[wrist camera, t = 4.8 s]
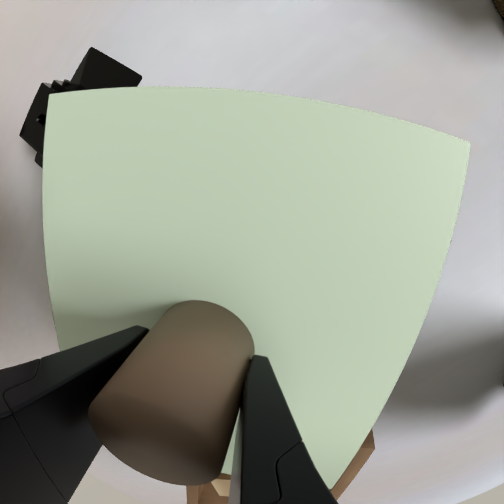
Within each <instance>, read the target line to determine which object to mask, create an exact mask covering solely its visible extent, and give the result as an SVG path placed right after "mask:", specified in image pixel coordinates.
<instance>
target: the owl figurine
mask: <svg viewBox="0 0 504 504" xmlns="http://www.w3.org/2000/svg"><path fill="white" fill-rule="evenodd" d="M493 3H494V5H495V8H496V9H497V11H498V12H499V13H500V15H501V17H502V18H504V17H503V16H504V0H493Z"/></svg>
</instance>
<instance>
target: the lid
mask: <svg viewBox="0 0 504 504" xmlns="http://www.w3.org/2000/svg"><path fill="white" fill-rule="evenodd" d="M470 146H471V143H470V142H468V141H465V140H462V139H460V138H457V137H454V136H451V135H449V134H446V133H443V132H440V131H437V130H434V129H431V128H428V127H424V126H421V125H418V124H415V123H411V122H408V121H404V120H401V119H397V118H394V117H390V116H386V115H382V114H378V113H374V112H370V111H366V110H362V109H357V108H353V107H348V106H344V105H339V104H334V103H329V102H323V101H318V100H312V99H306V98H300V97H293V96H287V95H279V94H272V93H263V92H254V91H244V90H233V89H220V88H202V87H121V88H104V89H91V90H81V91H71V92H63V93H55V94H49V100H48V108H47V116H46V126H45V137H44V152H43V178H42V206H43V232H44V247H45V259H46V269H47V277H48V285H49V293H50V299H51V306H52V312H53V318H54V323H55V328H56V333H57V338H58V343H59V348H60V351H63V350H66V349H69V348H72V347H75V346H78V345H81V344H84V343H87V342H90V341H93V340H95V339H98V338H101V337H104V336H107V335H110V334H113V333H115V332H118V331H121V330H124V329H127V328H129V327H132V326H135V325H139V326H142V327H146V328H148V329H149V330H150V331H149V332H148V334H147V335H146V336H145V337H144V338H143V340H142V341H141V342H140V343H139V344H138V346H137V347H136V348H135V349H134V351H133V352H132V353H131V354H130V355H129V357H128V358H127V359H126V360H125V362H124V363H123V364H122V365H121V366H120V368H119V369H118V370H117V371H116V373H115V374H114V375H113V376H112V378H111V379H110V380H109V381H108V383H107V384H106V385H105V386H104V388H103V389H102V390H101V391H100V393H99V394H98V395H97V396H96V398H95V399H94V400H93V401H92V403H91V404H90V406H89V410H88V418H89V422H90V425H91V427H92V429H93V431H94V433H95V435H96V436H97V438H98V439H99V440H100V441H101V443H102V444H103V445H104V446H105V447H106V448H107V449H108V450H109V451H110V452H111V453H112V454H113V455H114V456H115V457H117V458H118V459H119V460H121V461H122V462H123V463H125V464H126V465H128V466H129V467H131V468H133V469H134V470H136V471H138V472H140V473H142V474H144V475H147V476H149V477H151V478H154V479H157V480H160V481H163V482H167V483H171V484H177V485H185V486H195V485H202V484H206V483H209V482H212V481H213V480H215V479H216V478H217V477H218V476H219V475H220V474H221V473H225V474H230V475H231V472H232V463H233V454H234V445H235V435H236V428H237V422H238V417H239V411H240V406H241V401H242V395H243V389H244V384H245V379H246V375H247V372H248V369H249V366H250V363H251V359H252V356H253V355H255V354H256V355H261V356H266V357H268V359H269V361H270V363H271V366H272V368H273V371H274V373H275V375H276V378H277V380H278V383H279V385H280V387H281V390H282V392H283V395H284V397H285V399H286V402H287V404H288V406H289V409H290V411H291V414H292V416H293V418H294V421H295V423H296V425H297V428H298V430H299V432H300V435H301V437H302V439H303V440H302V441H303V442H304V444H305V446H306V448H307V450H308V453H309V455H310V457H311V459H312V461H313V463H314V465H315V467H316V469H317V471H318V472H319V474H320V476H321V477H322V479H323V481H324V482H325V484H326V485H327V487H328V489H332V488H333V487H334V485H335V484H336V482H337V481H338V480H339V478H340V477H341V475H342V474H343V472H344V471H345V470H346V468H347V467H348V465H349V464H350V462H351V461H352V459H353V458H354V456H355V454H356V453H357V451H358V450H359V448H360V447H361V445H362V443H363V442H364V440H365V438H366V437H367V435H368V434H369V432H370V430H371V428H372V427H373V425H374V423H375V422H376V420H377V418H378V416H379V415H380V413H381V411H382V409H383V407H384V405H385V404H386V402H387V400H388V398H389V396H390V394H391V392H392V390H393V388H394V386H395V384H396V382H397V380H398V378H399V376H400V374H401V372H402V370H403V368H404V366H405V364H406V362H407V359H408V357H409V355H410V353H411V351H412V348H413V346H414V344H415V341H416V339H417V337H418V334H419V332H420V329H421V327H422V325H423V322H424V320H425V317H426V314H427V312H428V309H429V306H430V304H431V301H432V298H433V296H434V293H435V290H436V287H437V284H438V281H439V278H440V275H441V272H442V269H443V266H444V262H445V259H446V256H447V252H448V249H449V246H450V242H451V238H452V235H453V231H454V227H455V223H456V219H457V215H458V211H459V206H460V202H461V197H462V192H463V187H464V182H465V177H466V171H467V166H468V159H469V153H470Z"/></svg>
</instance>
